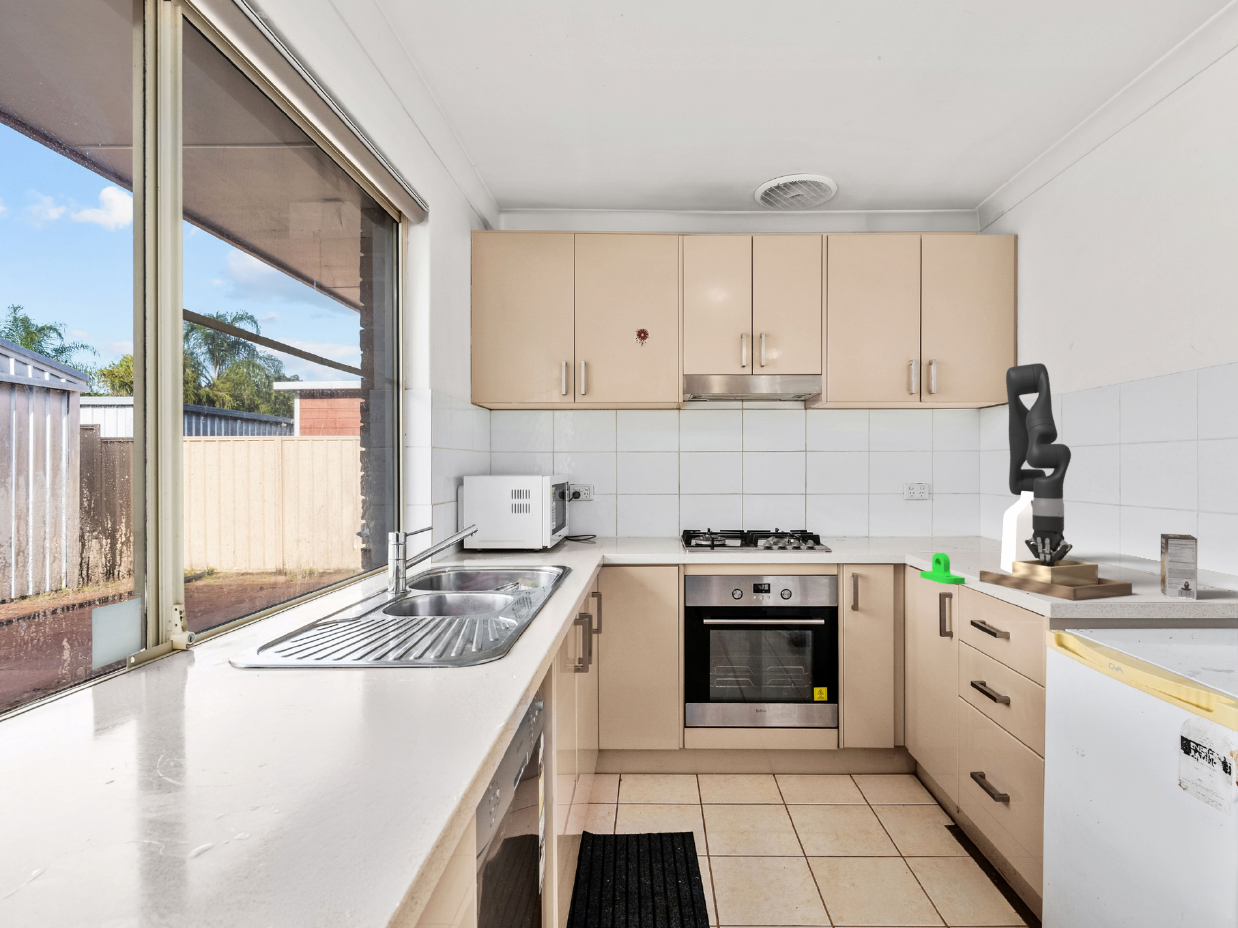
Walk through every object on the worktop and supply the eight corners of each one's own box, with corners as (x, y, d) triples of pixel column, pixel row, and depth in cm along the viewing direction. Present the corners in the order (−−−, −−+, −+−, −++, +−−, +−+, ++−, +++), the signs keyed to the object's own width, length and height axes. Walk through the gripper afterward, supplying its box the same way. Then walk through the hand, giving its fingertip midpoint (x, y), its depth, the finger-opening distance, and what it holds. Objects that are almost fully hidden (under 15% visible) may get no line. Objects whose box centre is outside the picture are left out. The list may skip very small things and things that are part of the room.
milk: (1000, 568, 213) (1000, 490, 213) (1038, 569, 211) (1039, 490, 211) (1014, 574, 202) (1015, 492, 202) (1055, 576, 199) (1056, 492, 199)
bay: (979, 581, 191) (979, 570, 191) (1033, 576, 198) (1033, 566, 198) (1073, 600, 164) (1073, 588, 164) (1132, 594, 171) (1132, 583, 171)
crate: (1012, 582, 183) (1012, 561, 183) (1057, 578, 189) (1057, 558, 189) (1050, 590, 172) (1051, 567, 172) (1098, 585, 178) (1098, 564, 178)
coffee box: (1159, 591, 175) (1159, 533, 175) (1190, 594, 172) (1190, 534, 172) (1165, 597, 168) (1166, 536, 168) (1198, 600, 164) (1198, 538, 164)
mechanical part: (920, 577, 197) (920, 551, 197) (938, 577, 198) (938, 551, 198) (945, 585, 185) (946, 557, 185) (964, 584, 186) (964, 557, 186)
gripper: (1017, 512, 187) (1016, 571, 187) (1061, 516, 175) (1061, 579, 175) (1035, 511, 190) (1035, 570, 190) (1080, 515, 177) (1080, 578, 177)
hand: (1047, 574), depth 182 cm, fingers closed
